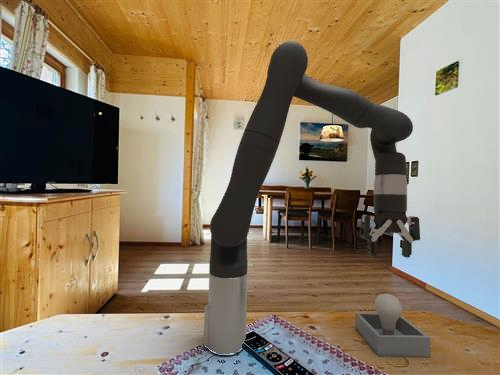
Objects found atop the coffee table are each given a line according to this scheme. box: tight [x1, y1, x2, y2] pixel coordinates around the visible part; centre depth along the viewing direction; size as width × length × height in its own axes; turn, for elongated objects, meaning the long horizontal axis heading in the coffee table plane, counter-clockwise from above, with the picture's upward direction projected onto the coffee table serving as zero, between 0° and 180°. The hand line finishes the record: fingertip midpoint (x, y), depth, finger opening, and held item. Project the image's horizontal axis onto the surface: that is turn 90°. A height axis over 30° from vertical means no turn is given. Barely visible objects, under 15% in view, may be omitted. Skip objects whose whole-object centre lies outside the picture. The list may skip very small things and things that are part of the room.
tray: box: [354, 312, 431, 358], centre depth 63 cm, size 12×12×4 cm
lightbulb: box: [374, 293, 403, 335], centre depth 64 cm, size 6×6×11 cm
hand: (389, 256), depth 64 cm, fingers open, 8 cm apart
